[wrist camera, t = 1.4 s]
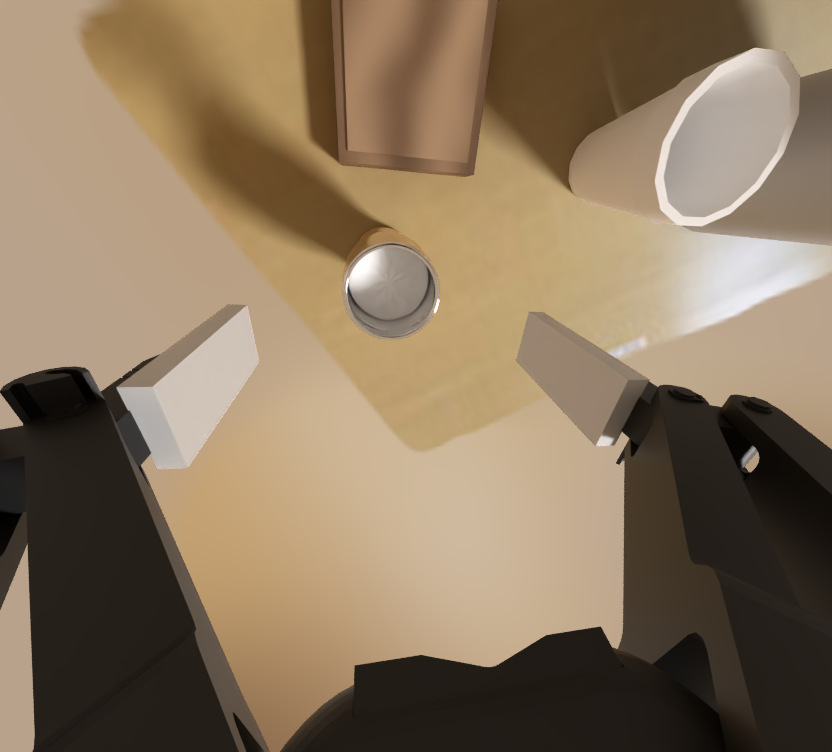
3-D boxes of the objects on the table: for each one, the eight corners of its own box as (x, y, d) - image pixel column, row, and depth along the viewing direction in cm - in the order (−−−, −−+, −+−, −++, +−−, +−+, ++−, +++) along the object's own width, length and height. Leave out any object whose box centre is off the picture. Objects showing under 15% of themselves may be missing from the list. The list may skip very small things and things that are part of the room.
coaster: (487, -4, 24) (503, -31, 21) (464, 176, 30) (474, 174, 27) (332, -34, 22) (327, -67, 19) (341, 164, 28) (338, 161, 25)
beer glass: (358, 293, 34) (351, 350, 21) (344, 226, 31) (326, 246, 18) (417, 284, 35) (446, 335, 22) (410, 217, 31) (440, 231, 18)
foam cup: (558, 116, 28) (679, 63, 17) (651, 96, 28) (830, 32, 17) (551, 225, 33) (642, 239, 22) (631, 208, 33) (760, 213, 22)
